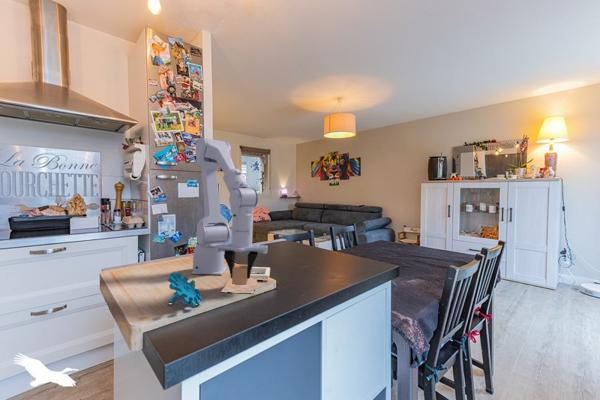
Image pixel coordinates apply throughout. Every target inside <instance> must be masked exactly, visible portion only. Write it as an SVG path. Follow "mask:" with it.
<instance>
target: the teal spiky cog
mask: <svg viewBox="0 0 600 400" xmlns="http://www.w3.org/2000/svg"><path fill="white" fill-rule="evenodd" d="M182 276H183V275H182V273H180V272H177V273H176V272H172V273H170V274H169V277H168V278H167V282H169V285H168V286H169V289H170V290H174V291H175V292H174V293H173V294H174V296H173V297H172V298H171V299H170V300H169V301H168V302H167V304H168V303H173V304H174V303H176V302H177V301H178V300H179V299H180V297H181V298H182V299H181V302H182V303H183V304H184V305H187V304H188V303H189V306H190V307H192V308H195V307H197V306H196V304H199V303H200V302H201V301H202V300H203V297H202V296H201V295H199V294H200V293H201V290H200V289H199V288H196V281H195V280H194V279H191V281H189V280H190V278H189V277H188V276H187V275H185V276H183V277H182ZM201 299H202V300H201ZM199 300H200V301H199Z"/></svg>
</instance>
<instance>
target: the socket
mask: <svg viewBox="0 0 600 400" xmlns="http://www.w3.org/2000/svg"><path fill="white" fill-rule="evenodd" d="M251 272H255V273H251V274H250V278H254V279H255V278H262V279H264V278H265V279H268V278H269V279H270V273H271V267H268V266H267V267H266V266H262V267H261V266H260V267H259V266H252V270H251ZM257 273H259V274H257Z"/></svg>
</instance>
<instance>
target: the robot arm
mask: <svg viewBox="0 0 600 400" xmlns="http://www.w3.org/2000/svg"><path fill="white" fill-rule="evenodd" d="M231 151H232V148H231V144H230V143H229V141H227V140H224V141H223V140H217V139H211V138H205V137H202V136H201V137H200V138H199V139H198V140H197V141H196V146H195V157H196V159H195V160H196V164H197V166H199V167H200V170H201V179H202V180H201V181H202V182H201V183H202V194H203V205H204V206H203V207H204V216H203V217H202V218H201V219H200V220H199V221H198V222H197V224H196V232H195V235H196V241H197V244H196V245H195V246H194V249H193V254H192V256H193V257H192V272H191V274H193V275H214V276H215V275H218V276H219V275H220V276H221V274H222V273H223V274H224V272H225V271H227V268H228V270H229V274H230V279H232V270H233V267H234V266H235V263H236V254H237V253H248V254H247V265H248V270H247V279H249V278H250V274H252V273H251V270H252V267H254V266H253V265H254V263H255V261H256V259H257V257H258V254H264V255H267V253H268V245H262V244H253V231H254V208H256V207H257V205H258V202H259V194H258V191H257V189H256V188H255V187H252V186H251V185H249V183H248V182H247V180H246V179H245V177H244V175H243V173H242V171H241V170H240V169H238V168H236V167H235V165H234V162H233V160H232V156H231V153H232V152H231ZM218 169H221V170H222V172H223V173H224V174H223V176H222V180H223V182H224V183H225V186H226V188H227V191H228V192H229V197H228V200H229V201H228V203H229V205H230V214H231V215H232V220H231V221H232V223H231V224H232V225H231V227H232V229H231V228H230V226H229V221H228V219H227V218H225V216H223V215H222V213H221V203H220V202H221V201H220V194H219V193H220V191H219V181H218ZM230 239H231V243H228V242H229V241H230ZM225 262H226V264H227V266H226V265H225ZM223 274H222V275H223Z"/></svg>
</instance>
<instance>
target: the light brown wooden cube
mask: <svg viewBox="0 0 600 400" xmlns="http://www.w3.org/2000/svg"><path fill="white" fill-rule="evenodd" d="M247 270H248V264H235V266H234V267H233V270H232V278H231V280H232V284H235V285H247V282H248V279H247Z"/></svg>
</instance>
